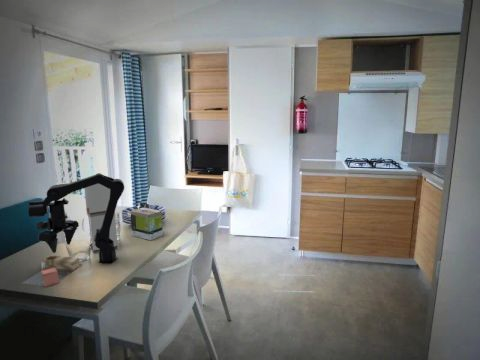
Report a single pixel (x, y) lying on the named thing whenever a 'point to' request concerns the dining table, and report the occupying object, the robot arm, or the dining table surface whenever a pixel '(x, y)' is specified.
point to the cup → (61, 234)
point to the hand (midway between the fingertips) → (61, 248)
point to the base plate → (39, 279)
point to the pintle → (43, 265)
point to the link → (61, 262)
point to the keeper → (50, 276)
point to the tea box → (146, 223)
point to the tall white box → (99, 212)
